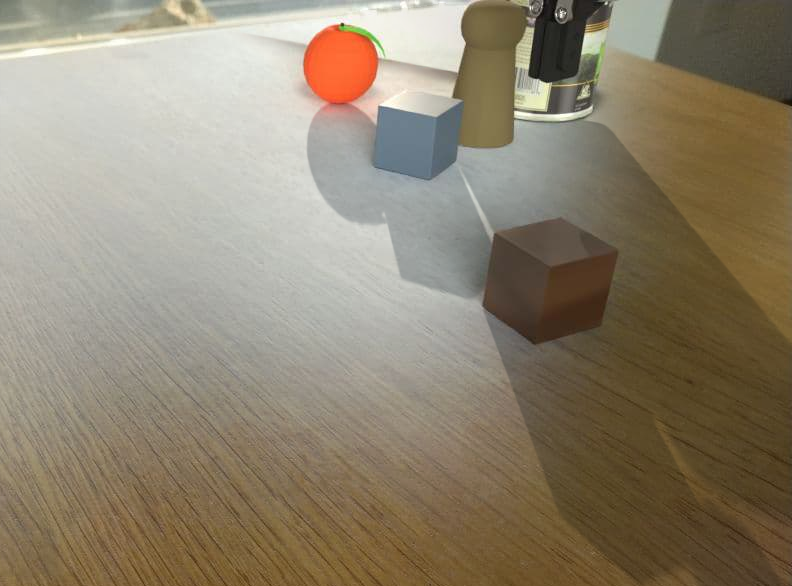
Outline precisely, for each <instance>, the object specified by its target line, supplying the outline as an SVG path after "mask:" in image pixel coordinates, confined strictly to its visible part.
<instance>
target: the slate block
mask: <svg viewBox="0 0 792 586" xmlns="http://www.w3.org/2000/svg"><path fill="white" fill-rule="evenodd" d="M463 104H464V100H460V99H454V98H452V97H448V96H443V95H439V94H433V93H429V92H425V91H424V92H423V91H418V90H413V89H408V88H407V89H405V90H403V91H402V92H400V93H398V94H396V95H394V96H393V97H391V98H389V99H387V100H385V101H384V102H382V103H380V104H378V106H377V116H376V117H377V118H376V129H375V142H374V154H373V155H374V157H373V168H377V169H382V170H385V171H390V172H394V173H398V174H403V175H407V176H411V177H415V178H420V179H422V180H427V181H430V180H432V179H434V178H435V177H436V176H437V175H439V174H440V173H443V171H444V170H446V169H448V168H449V167H450V166H451V165H453V164H454V163H456V162H457V158H458V150H459V144H458V143H459V136H460V128H461V120H462V112H463Z"/></svg>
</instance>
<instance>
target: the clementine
mask: <svg viewBox="0 0 792 586" xmlns="http://www.w3.org/2000/svg"><path fill="white" fill-rule="evenodd" d="M375 44H376V45H377V46H378V48H379V49H380V51H381V52H382V55H383V57H384V60H385V61H387V58H386V54H385V50H384V48H383V45H382V44H381V43H380V40H379V39H377V37H375V35H374V34H372V33H371V32H370V31H368V30H367V29H364V28H361V27H359V26H355V25H351V24H347V23H346V24H345V22H340V23H339V24H331V25H328V26H325V28H323V29H321V30H320V31H319V32H317V33H316V34H315V35H314V36H313V38H311V40H310V41H309V43H308V45H307V47H306V49H305V52H304V56H303V62H302V68H303V69H302V70H303V75H304V78H305V81H306V83H307V85H308V87H309V88H310V89H311V91H312V92H313V94H315V95H316V96H317V97H318V98H320V99H322V100H323V101H325V102H329V103H332V104H339V105H340V104H347V103H351V102H354V101H356V100H358V99H360V98H361V97H362V96H364V95H365V94H366V93H367V92H368V91H369V90H370V89H371V88H372V86H373V84H374V82H375V80H376V78H377V73H378V69H379V53H378V51H377V48H376V45H375Z"/></svg>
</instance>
